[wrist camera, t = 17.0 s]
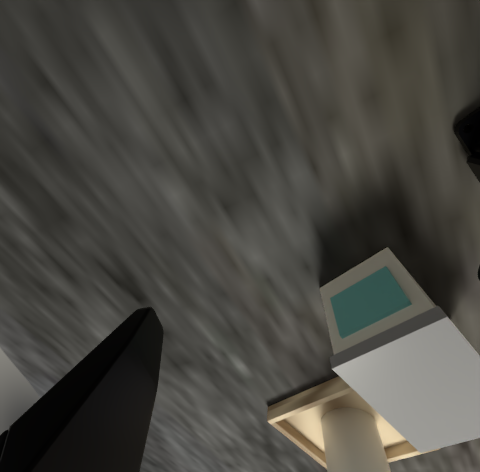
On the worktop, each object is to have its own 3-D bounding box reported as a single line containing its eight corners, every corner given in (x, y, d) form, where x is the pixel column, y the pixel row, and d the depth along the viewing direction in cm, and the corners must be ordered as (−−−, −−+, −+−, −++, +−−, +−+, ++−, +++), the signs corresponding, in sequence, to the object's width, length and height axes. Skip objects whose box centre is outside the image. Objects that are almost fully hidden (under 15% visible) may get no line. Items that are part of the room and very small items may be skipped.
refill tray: (364, 364, 25) (369, 379, 23) (432, 432, 27) (440, 449, 26) (267, 406, 29) (267, 421, 28) (333, 460, 32) (335, 476, 31)
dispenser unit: (387, 242, 19) (446, 315, 12) (453, 323, 21) (534, 423, 14) (315, 287, 22) (330, 367, 15) (380, 355, 24) (420, 453, 17)
